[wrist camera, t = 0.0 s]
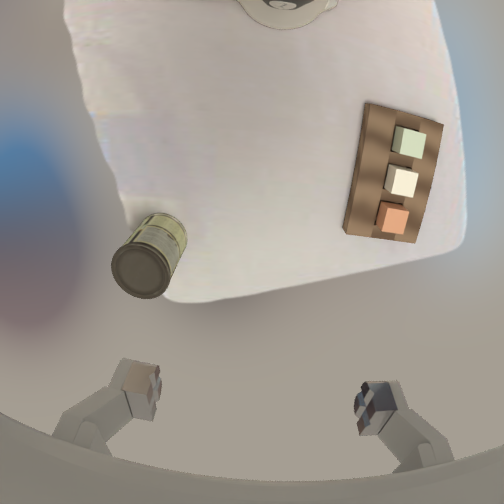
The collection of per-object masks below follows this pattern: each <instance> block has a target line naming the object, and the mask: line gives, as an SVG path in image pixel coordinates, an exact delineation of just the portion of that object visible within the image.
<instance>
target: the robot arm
mask: <svg viewBox="0 0 504 504" xmlns="http://www.w3.org/2000/svg"><path fill="white" fill-rule="evenodd" d="M237 1H238V2H239V3H240V4H241V5H242V7H243V8H244V10H245V11H246V12H247V14H248V15H249V16H250V17H251V18H253V19H254V20H255V21H257V22H258V23H260V24H262V25H265V26H267V27H271V28H275V29H295V28H299V27H302V26H304V25H307V24H308V23H310V22H312V21H313V20H314V19H315V18H316V17H317V16H318V15H319V14H321V13H322V12H324V11H327V10H330V9H332V8H334V7H336V5H337V0H237ZM159 373H160V368H159V366H158V365H155V364H150V363H145V362H140V361H136V360H131V359H126V358H122V360H120V363H119V364H118V366H117V369H116V371H115V373H114V375H113V377H112V380H111V382H110V384H109V386H108V387H103V388H102V389H100V390H99V391H97V392H95V393H94V394H92V395H91V396H89V397H87V398H86V399H84V400H83V401H81V402H79V403H78V404H76V405H74V406H73V407H71V408H69V409H68V410H66V411H65V412H63V414H62V416H61V418H60V420H59V422H58V424H57V426H56V428H55V430H54V432H53V434H52V436H50V435H48V434H46V433H43V432H41V431H38V430H36V429H34V428H32V427H29V426H27V425H25V424H23V423H21V422H19V421H17V420H14V419H12V418H10V417H8V416H6V415H4V414H2V413H1V412H0V504H504V445H502V446H499V447H496V448H493V449H491V450H488V451H484V452H481V453H478V454H475V455H472V456H469V457H465V458H461V459H458V460H454V457H453V454H452V451H451V448H450V446H449V443H448V440H447V438H446V437H445V436H443V435H442V434H441V433H440V432H439V431H437V430H436V429H435V428H434V427H433V426H431V425H430V424H429V423H428V422H427V421H426V420H424V419H423V418H422V417H421V416H419V415H418V414H417V413H416V412H415V411H414V410H412V409H409V407H408V405H407V402H406V399H405V396H404V394H403V391H402V388H401V386H400V383H399V382H398V381H397V380H396V381H366V382H364V383H363V384H362V386H361V390H362V391H361V392H360V393H358V394H357V396H356V398H355V402H354V412H355V415H356V416H357V417H358V418H359V421H358V422H357V426H358V431H359V435H360V436H367V435H378V437H379V438H380V439H381V441H382V442H383V443H384V444H385V445H386V446H387V448H388V449H389V450H390V451H391V452H392V453H393V455H394V456H395V457H396V458H397V459H398V460H399V462H400V463H401V464H400V465H399V466H398V467H397V468H396V469H395V470H394V471H393V472H392V473H393V474H387V475H380V476H372V477H364V478H353V479H342V480H326V481H259V480H243V479H232V478H222V477H213V476H205V475H197V474H191V473H184V472H179V471H173V470H168V469H163V468H158V467H153V466H148V465H144V464H140V463H135V462H131V461H127V460H124V459H120V458H116V457H113V456H112V454H111V452H110V450H109V449H108V447H107V445H106V443H105V442H107V441H108V440H109V439H110V438H111V437H112V436H114V435H115V434H116V433H117V432H118V431H119V430H121V429H122V428H123V427H124V426H125V425H126V424H127V423H129V422H130V421H131V420H132V419H133V418H137V419H143V420H147V421H153V419H154V416H155V412H156V402H157V401H158V400H159V399H160V395H161V388H162V381H161V378H160V377H159Z"/></svg>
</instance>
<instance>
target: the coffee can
mask: <svg viewBox="0 0 504 504" xmlns="http://www.w3.org/2000/svg"><path fill="white" fill-rule="evenodd" d="M186 245H187V234H186V231H185V229H184V227H183V225H182V224H181V223H180V222H179V221H178V220H177V219H176V218H174V217H172V216H170V215H167V214H162V213H157V214H153V215H150V216H148V217H147V218H146V219H145V220H144V221H143V222H142V223H141V225H140V226H139V227H138V228H137V229H136V230H135V232H134V233H133V234H132V235H131V236H130V237H129V239H128V240H127V241H126V242H125V243H124V244H123V246H122V247H120V248H119V249H118V250H117V251H116V253H115V254H114V256H113V258H112V263H111V268H112V274H113V276H114V279H115V281H116V282H117V284H118V285H119V286H120V287H121V288H122V289H123V290H124V291H125V292H127V293H128V294H130V295H132V296H134V297H137V298H141V299H152V298H156V297H158V296H160V295H161V294H163V293H164V292H165V291H166V289H167V287H168V285H169V283H170V279H171V277H172V275H173V273H174V270H175V268H176V266H177V264H178V262H179V260H180V258H181V256H182V253H183V252H184V250H185V248H186Z"/></svg>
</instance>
